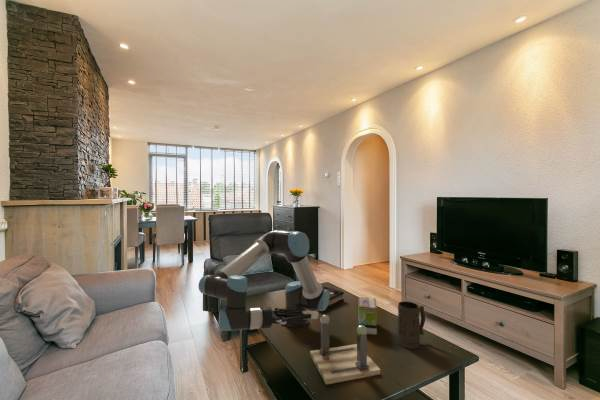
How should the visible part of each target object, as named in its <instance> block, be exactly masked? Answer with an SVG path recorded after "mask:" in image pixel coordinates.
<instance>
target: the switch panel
mask: <svg viewBox="0 0 600 400" xmlns="http://www.w3.org/2000/svg"><path fill="white" fill-rule="evenodd" d="M329 351H330V352H331V355H325V356H322V355H321V353H320V351H319V349H315V350H310V351H309V356H310V358H311V360H312V361H313V364H314V365H315V366H316V369H317V371H318V372H319V374H320V376H321V378H322V380H323V382H324V384H325V385H331V384H336V383H342V382H346V381H351V380H356V379H357V380H358V379H362V378H368V377H373V376H378V375H381V369H380V367H379V366H378V365H377V364H376V363H375V362H374V361H373V359H372V358H371V357H370V356H369V355H368V354H367V365H368V369H364V370H359V369H358V367H357V366H356V365H355V362H357V343H355V344H347V345H342V346H341V345H340V346H335V347H334V346H333V347H329Z"/></svg>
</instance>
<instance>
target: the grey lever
mask: <svg viewBox="0 0 600 400" xmlns="http://www.w3.org/2000/svg"><path fill="white" fill-rule="evenodd" d="M330 320H331V319H330V316H329V315H327V314H322V315H321V316H320V317H319V321H320V322H319V323H320V348H319V349H318V350H319V351H320V353H321V355H322V356H325V355H331V352H330V351H329V348H330V322H331V321H330Z"/></svg>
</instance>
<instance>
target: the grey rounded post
mask: <svg viewBox="0 0 600 400" xmlns="http://www.w3.org/2000/svg"><path fill="white" fill-rule="evenodd" d="M356 344H357V362H355V365H356V366H357V367H358V369H359V370H364V369H368V365H367V355H368V349H367V347H368V334H367V328H366V327H365V326H364V325H359V326H358V325H357V327H356Z"/></svg>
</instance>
